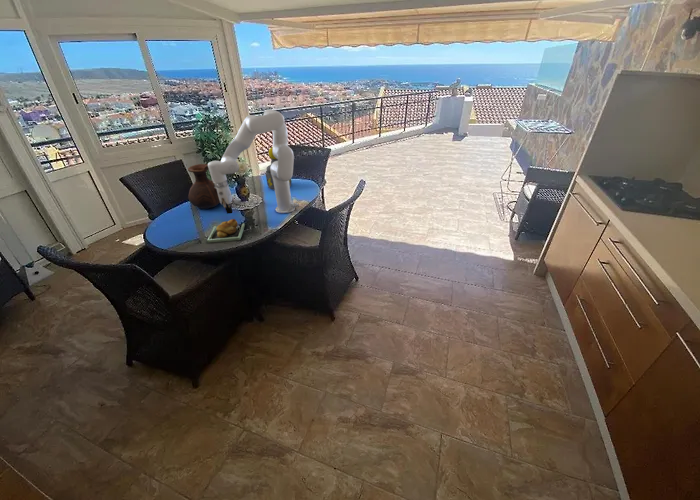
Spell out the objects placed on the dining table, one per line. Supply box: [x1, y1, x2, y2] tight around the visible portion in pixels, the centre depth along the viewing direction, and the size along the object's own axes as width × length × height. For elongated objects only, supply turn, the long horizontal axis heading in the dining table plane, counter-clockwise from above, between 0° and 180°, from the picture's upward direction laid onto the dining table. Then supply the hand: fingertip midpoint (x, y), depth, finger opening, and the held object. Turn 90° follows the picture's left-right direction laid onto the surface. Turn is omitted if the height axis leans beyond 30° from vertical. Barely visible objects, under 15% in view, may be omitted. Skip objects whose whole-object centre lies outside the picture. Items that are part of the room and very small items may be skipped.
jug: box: [187, 163, 221, 210], centre depth 194 cm, size 22×22×30 cm
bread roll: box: [216, 218, 239, 238], centre depth 166 cm, size 13×10×8 cm
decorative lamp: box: [265, 146, 292, 191], centre depth 221 cm, size 19×19×30 cm
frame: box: [206, 222, 246, 244], centre depth 168 cm, size 17×17×2 cm
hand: (229, 212), depth 175 cm, fingers closed
